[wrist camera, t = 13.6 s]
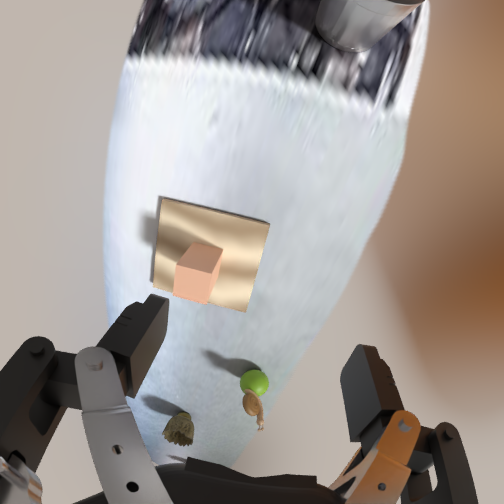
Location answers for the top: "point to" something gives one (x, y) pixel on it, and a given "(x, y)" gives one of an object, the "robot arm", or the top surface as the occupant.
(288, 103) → the top surface
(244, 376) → the snail figurine
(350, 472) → the robot arm
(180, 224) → the birch board
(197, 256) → the terracotta block
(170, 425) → the cup
